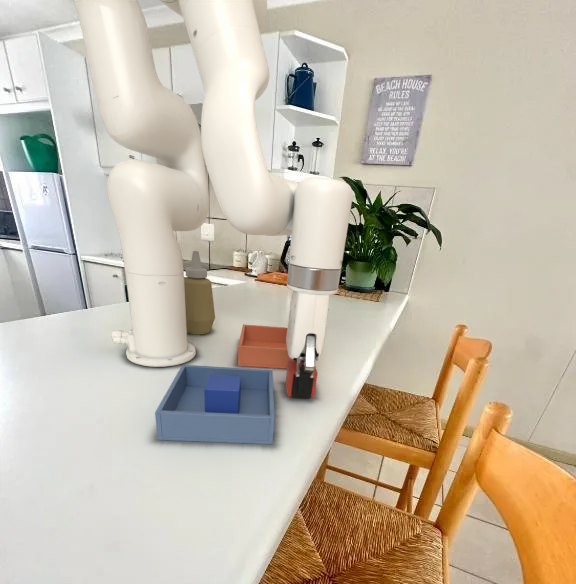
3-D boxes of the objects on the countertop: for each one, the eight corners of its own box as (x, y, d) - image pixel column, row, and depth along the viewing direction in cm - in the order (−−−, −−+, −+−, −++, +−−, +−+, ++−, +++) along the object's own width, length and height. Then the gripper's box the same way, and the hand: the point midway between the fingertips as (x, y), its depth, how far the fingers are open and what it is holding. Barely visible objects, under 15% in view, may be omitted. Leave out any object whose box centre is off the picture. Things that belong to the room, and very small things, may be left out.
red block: (287, 396, 53) (289, 371, 51) (285, 384, 57) (287, 360, 55) (314, 397, 53) (317, 373, 51) (310, 385, 57) (313, 362, 55)
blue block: (204, 417, 44) (204, 389, 42) (210, 401, 48) (209, 374, 46) (238, 419, 44) (238, 390, 42) (240, 403, 48) (241, 376, 46)
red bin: (237, 365, 62) (238, 346, 60) (242, 341, 74) (242, 324, 73) (310, 370, 63) (313, 351, 61) (303, 345, 76) (305, 328, 74)
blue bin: (157, 440, 40) (154, 412, 38) (183, 387, 52) (182, 364, 50) (272, 444, 41) (274, 417, 39) (270, 391, 54) (272, 369, 52)
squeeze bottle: (221, 330, 80) (221, 252, 72) (203, 339, 73) (201, 254, 65) (193, 324, 82) (190, 248, 74) (173, 332, 75) (167, 249, 67)
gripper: (284, 269, 54) (276, 368, 62) (291, 287, 39) (279, 415, 47) (328, 273, 55) (314, 370, 63) (352, 293, 40) (329, 417, 48)
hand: (299, 388), depth 55 cm, fingers closed on red block, 4 cm apart
